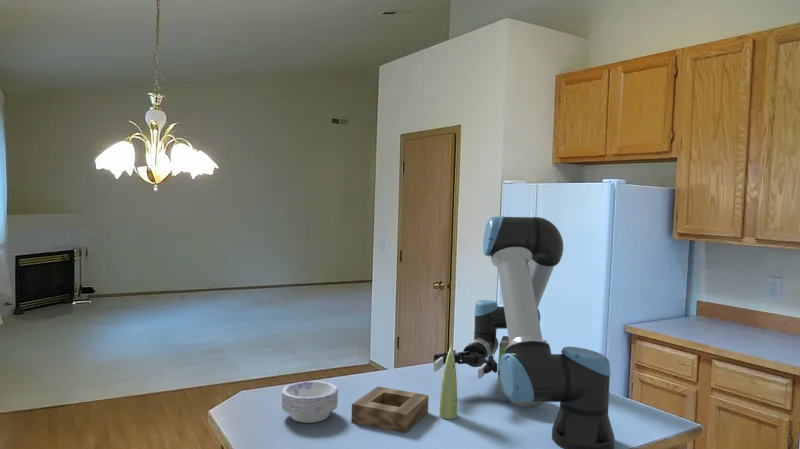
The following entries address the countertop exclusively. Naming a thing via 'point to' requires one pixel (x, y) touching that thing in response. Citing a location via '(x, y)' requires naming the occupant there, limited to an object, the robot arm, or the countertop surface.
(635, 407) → the countertop surface
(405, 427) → the socket block
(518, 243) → the robot arm
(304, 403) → the paper bowls
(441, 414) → the tube
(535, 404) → the dish
